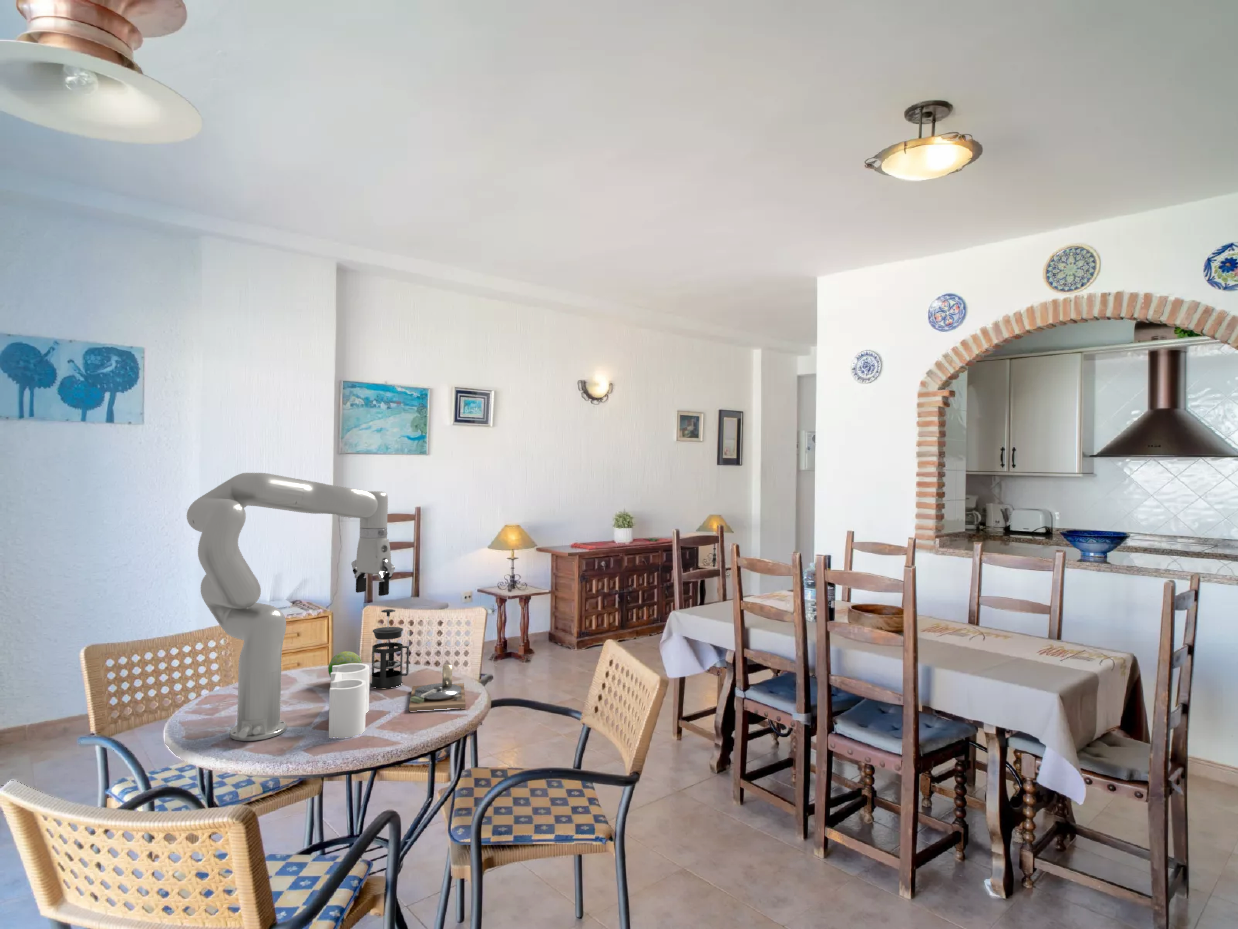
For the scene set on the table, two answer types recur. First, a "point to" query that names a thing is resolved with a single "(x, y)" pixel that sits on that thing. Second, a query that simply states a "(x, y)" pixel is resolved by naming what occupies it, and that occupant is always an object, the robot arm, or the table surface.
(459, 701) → the dial board
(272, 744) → the table surface
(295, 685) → the table surface
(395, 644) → the french press
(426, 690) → the dial
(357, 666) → the white utensil holder
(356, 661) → the decorative ball
